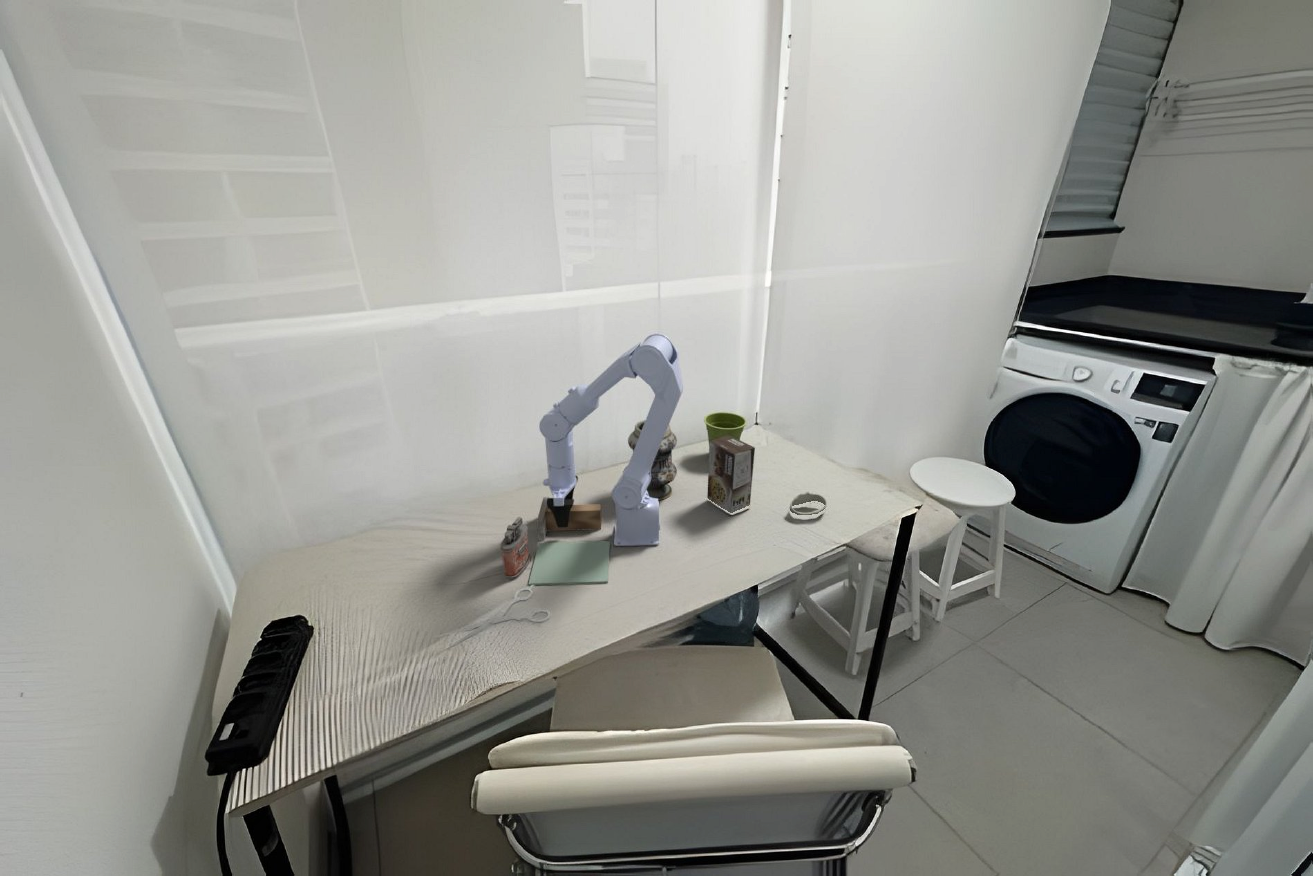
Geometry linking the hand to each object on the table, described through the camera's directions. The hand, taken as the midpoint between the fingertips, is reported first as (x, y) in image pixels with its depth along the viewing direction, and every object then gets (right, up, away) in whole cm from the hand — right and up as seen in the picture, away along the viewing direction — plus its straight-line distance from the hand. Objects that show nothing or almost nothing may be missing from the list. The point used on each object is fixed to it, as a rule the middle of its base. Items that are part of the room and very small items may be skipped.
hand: (564, 516), depth 118 cm
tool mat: (+3, -8, -11) cm, 14 cm away
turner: (+1, -2, +1) cm, 3 cm away
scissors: (-8, -15, -25) cm, 30 cm away
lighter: (-7, -9, -12) cm, 16 cm away
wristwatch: (+56, -1, +7) cm, 56 cm away
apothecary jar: (+19, +4, +16) cm, 25 cm away
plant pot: (+39, +12, +34) cm, 53 cm away
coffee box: (+38, +1, +10) cm, 39 cm away
